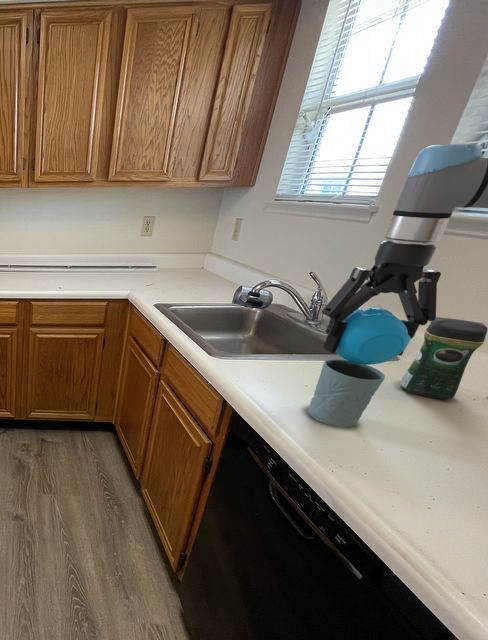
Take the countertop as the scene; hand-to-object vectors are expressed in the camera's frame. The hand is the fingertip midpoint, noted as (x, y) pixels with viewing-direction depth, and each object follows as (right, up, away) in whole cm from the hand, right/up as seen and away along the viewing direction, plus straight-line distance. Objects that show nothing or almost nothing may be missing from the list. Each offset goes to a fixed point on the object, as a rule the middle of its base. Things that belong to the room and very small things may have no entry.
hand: (361, 351), depth 85 cm
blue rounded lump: (0, -2, +1) cm, 3 cm away
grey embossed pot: (0, -14, +7) cm, 16 cm away
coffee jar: (+32, -9, +19) cm, 38 cm away
